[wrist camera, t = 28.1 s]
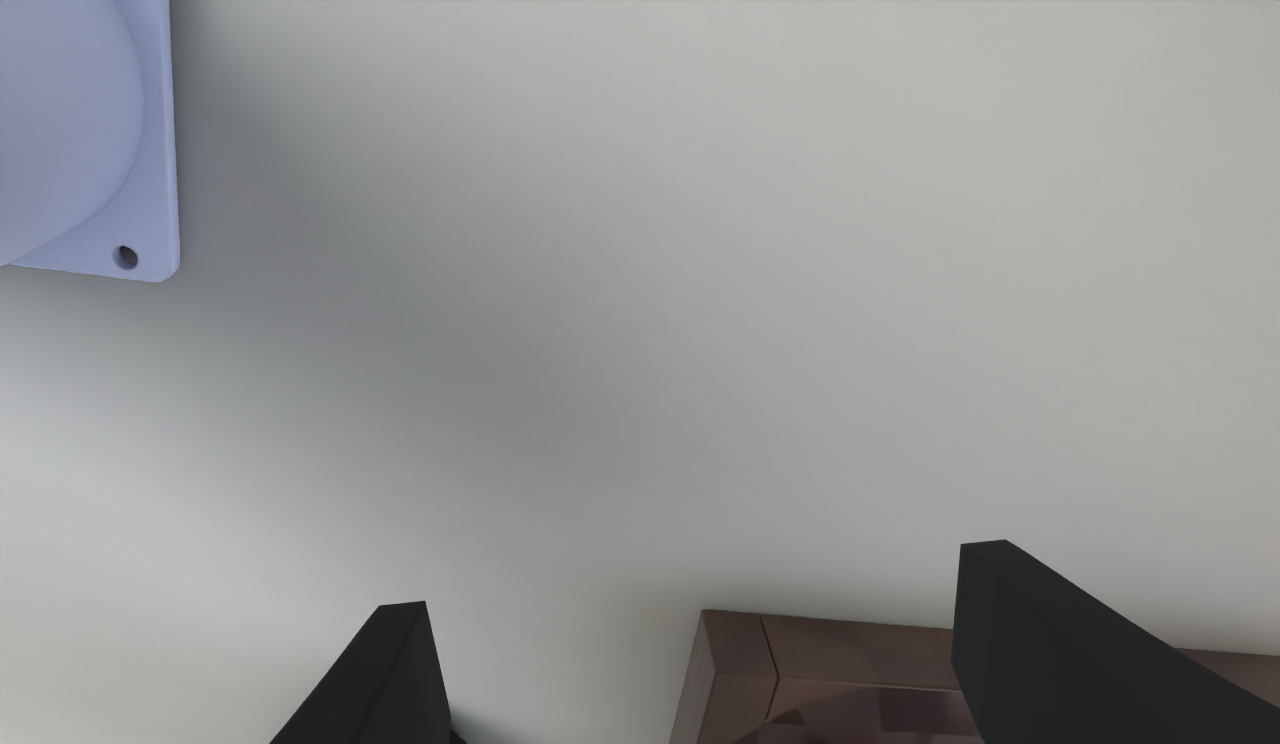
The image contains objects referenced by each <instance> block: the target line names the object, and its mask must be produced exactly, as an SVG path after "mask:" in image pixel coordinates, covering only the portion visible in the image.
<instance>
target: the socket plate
mask: <svg viewBox="0 0 1280 744" xmlns="http://www.w3.org/2000/svg"><path fill="white" fill-rule="evenodd" d="M952 640H953V630H942V629H929V628H918V627H908V626H896V625H884V624H872V623H859V622H844V621H832V620H820V619H807V618H795V617H783V616H771V615H761V616H759V615H758V614H749V613H736V612H724V611H712V610H703V611H702V612H701V616H700V621H699V625H698V629H697V633H696V637H695V641H694V645H693V649H692V653H691V657H690V662H689V666H688V670H687V674H686V678H685V682H684V686H683V690H682V694H681V699H680V703H679V707H678V711H677V715H676V719H675V723H674V727H673V731H672V735H671V739H670V743H669V744H985V743H984V741H983V739H982V737H981V735H980V733H979V731H978V729H977V727H976V724H975V722H974V720H973V717H972V715H971V712H970V710H969V708H968V705H967V703H966V700H965V698H964V695H963V693H962V690H961V688H960V685H959V682H958V680H957V677H956V675H955V672H954V670H953V667H952V664H951V652H952ZM1174 649H1176V650H1177V651H1179V652H1181V653H1182V654H1184V655H1186V656H1187V657H1189V658H1191V659H1193V660H1194V661H1196V662H1198V663H1199V664H1201V665H1203V666H1205V667H1206V668H1208V669H1210V670H1212V671H1213V672H1215V673H1217V674H1218V675H1220V676H1222V677H1224V678H1225V679H1227V680H1229V681H1230V682H1232V683H1234V684H1236V685H1238V686H1239V687H1241V688H1243V689H1245V690H1247V691H1249V692H1251V693H1252V694H1254V695H1256V696H1258V697H1260V698H1262V699H1263V700H1265V701H1267V702H1269V703H1271V704H1273V705H1275V706H1277V707H1279V708H1280V657H1275V656H1263V655H1251V654H1239V653H1226V652H1214V651H1202V650H1190V649H1178V648H1174Z"/></svg>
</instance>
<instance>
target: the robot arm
mask: <svg viewBox="0 0 1280 744" xmlns="http://www.w3.org/2000/svg"><path fill="white" fill-rule="evenodd" d="M121 246H126V247H129V248H131V249H132V250H133V251H134V252H135V253H136V255H137V258H138V263H137V264H132V263H129V262H127V261H126V260H125V259H124V258H123V257H122V255H121V252H120V248H121ZM5 264H10V265H18V266H26V267H34V268H42V269H50V270H58V271H66V272H74V273H82V274H90V275H98V276H106V277H114V278H122V279H130V280H138V281H146V282H162V281H164V280H166V279H168V278H169V277H171V276H172V275H173V274H174V273H175V272H176V271H177V269H178V268H179V265H180V237H179V215H178V192H177V170H176V147H175V125H174V103H173V80H172V58H171V35H170V13H169V0H0V267H1V266H3V265H5ZM951 664H952V667H953V670H954V672H955V675H956V677H957V680H958V682H959V685H960V688H961V690H962V693H963V695H964V698H965V700H966V703H967V705H968V708H969V710H970V712H971V715H972V717H973V720H974V722H975V724H976V727H977V729H978V731H979V733H980V735H981V737H982V739H983V741H984V743H985V744H1280V708H1279V707H1277V706H1275V705H1273V704H1271V703H1269V702H1267V701H1265V700H1263V699H1262V698H1260V697H1258V696H1256V695H1254V694H1252V693H1251V692H1249V691H1247V690H1245V689H1243V688H1241V687H1239V686H1238V685H1236V684H1234V683H1232V682H1230V681H1229V680H1227V679H1225V678H1224V677H1222V676H1220V675H1218V674H1217V673H1215V672H1213V671H1212V670H1210V669H1208V668H1206V667H1205V666H1203V665H1201V664H1199V663H1198V662H1196V661H1194V660H1193V659H1191V658H1189V657H1187V656H1186V655H1184V654H1182V653H1181V652H1179V651H1177V650H1176V649H1174V648H1172V647H1171V646H1169V645H1167V644H1166V643H1164V642H1163V641H1161V640H1159V639H1158V638H1156V637H1154V636H1153V635H1151V634H1150V633H1148V632H1146V631H1145V630H1143V629H1142V628H1140V627H1139V626H1137V625H1135V624H1134V623H1132V622H1131V621H1129V620H1128V619H1126V618H1125V617H1123V616H1121V615H1120V614H1118V613H1117V612H1115V611H1114V610H1112V609H1111V608H1109V607H1108V606H1106V605H1105V604H1103V603H1102V602H1100V601H1099V600H1097V599H1095V598H1094V597H1092V596H1091V595H1089V594H1088V593H1086V592H1085V591H1083V590H1082V589H1080V588H1079V587H1077V586H1076V585H1075V584H1073V583H1072V582H1070V581H1069V580H1067V579H1066V578H1064V577H1063V576H1061V575H1060V574H1058V573H1057V572H1055V571H1054V570H1052V569H1051V568H1049V567H1048V566H1046V565H1045V564H1043V563H1042V562H1040V561H1039V560H1037V559H1036V558H1034V557H1033V556H1031V555H1030V554H1028V553H1027V552H1025V551H1023V550H1022V549H1020V548H1019V547H1017V546H1015V545H1014V544H1012V543H1011V542H1009V541H1007V540H1006V539H1005V540H996V541H986V542H977V543H967V544H961V548H960V560H959V571H958V583H957V594H956V606H955V617H954V629H953V640H952V652H951ZM450 726H451V714H450V709H449V705H448V700H447V696H446V691H445V687H444V682H443V678H442V673H441V669H440V664H439V660H438V656H437V651H436V647H435V642H434V638H433V633H432V629H431V624H430V620H429V615H428V611H427V607H426V602H425V601H419V602H409V603H400V604H391V605H381V606H379V607H378V608H377V609H376V610H375V611H374V612H373V614H372V615H371V616H370V617H369V619H368V620H367V621H366V622H365V624H364V625H363V626H362V628H361V629H360V630H359V632H358V633H357V634H356V635H355V637H354V638H353V639H352V641H351V642H350V643H349V645H348V646H347V647H346V649H345V650H344V651H343V653H342V654H341V655H340V656H339V658H338V659H337V660H336V662H335V663H334V664H333V666H332V667H331V668H330V669H329V671H328V672H327V673H326V675H325V676H324V677H323V678H322V680H321V681H320V682H319V684H318V685H317V686H316V687H315V689H314V690H313V691H312V692H311V693H310V695H309V696H308V697H307V698H306V700H305V701H304V702H303V703H302V705H301V706H300V707H299V708H298V710H297V711H296V712H295V713H294V714H293V716H292V717H291V718H290V719H289V721H288V722H287V723H286V724H285V726H284V727H283V728H282V729H281V730H280V732H279V733H278V734H277V735H276V736H275V737H274V739H273V740H272V741H271V742H270V743H269V744H449V738H450Z"/></svg>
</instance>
